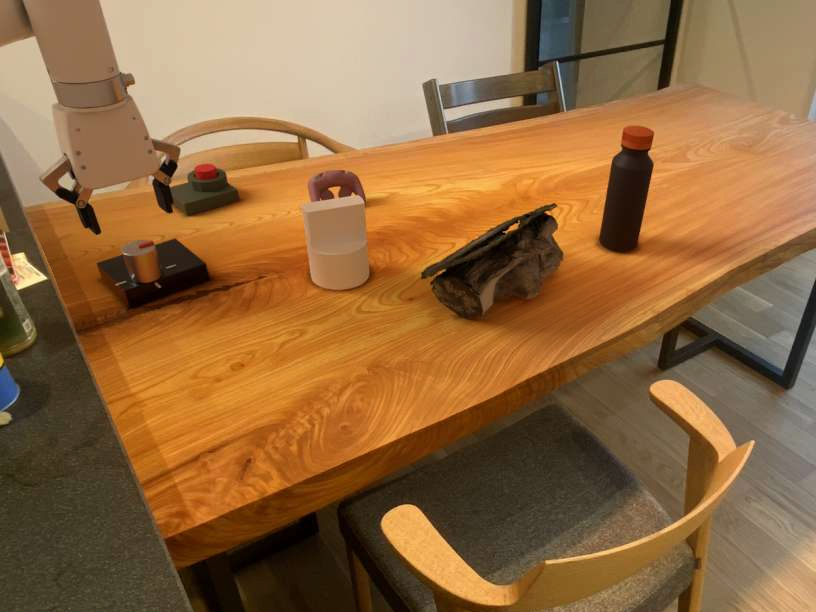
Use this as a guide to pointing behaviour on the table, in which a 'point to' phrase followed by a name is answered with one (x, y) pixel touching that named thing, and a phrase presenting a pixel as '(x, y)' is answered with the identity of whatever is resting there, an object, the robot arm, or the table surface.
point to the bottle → (627, 190)
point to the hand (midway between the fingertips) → (131, 220)
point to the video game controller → (334, 185)
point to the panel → (177, 275)
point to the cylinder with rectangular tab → (337, 242)
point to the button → (205, 171)
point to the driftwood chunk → (498, 264)
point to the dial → (142, 261)
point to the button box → (203, 193)
